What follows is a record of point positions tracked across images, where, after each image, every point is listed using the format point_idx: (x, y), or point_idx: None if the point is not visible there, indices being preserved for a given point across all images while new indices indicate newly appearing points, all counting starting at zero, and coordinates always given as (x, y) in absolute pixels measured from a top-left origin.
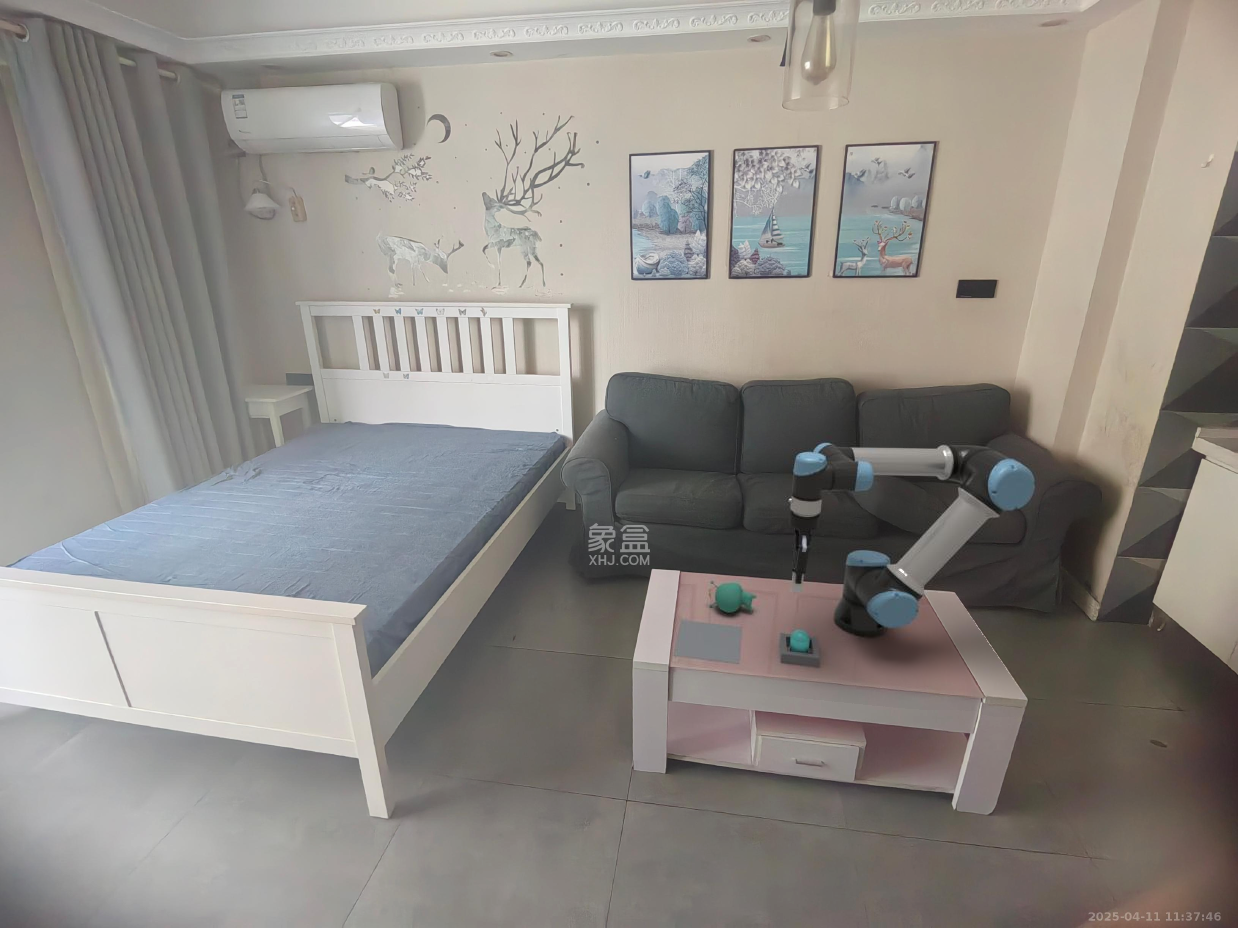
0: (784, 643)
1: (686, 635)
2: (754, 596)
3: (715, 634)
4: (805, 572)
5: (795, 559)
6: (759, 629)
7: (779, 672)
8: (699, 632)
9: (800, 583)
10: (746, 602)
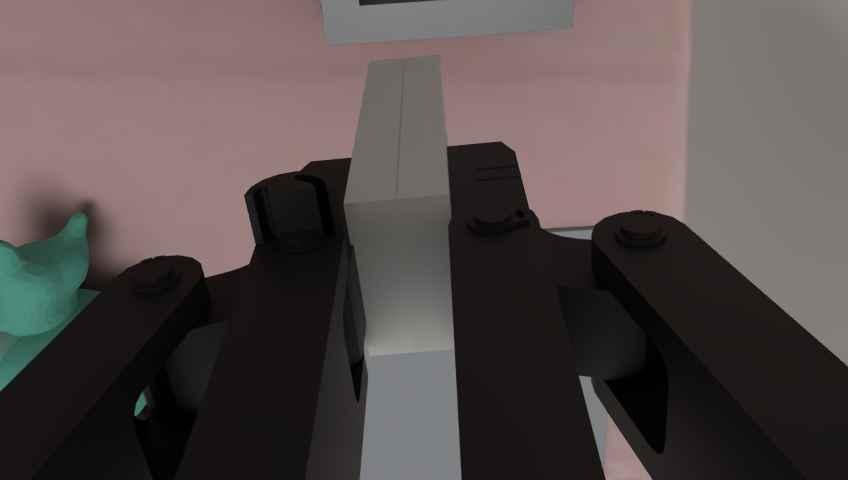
0: (449, 12)
1: (433, 463)
2: (12, 256)
3: (383, 356)
4: (660, 224)
5: (355, 473)
6: (241, 150)
7: (656, 12)
8: (389, 420)
9: (508, 153)
10: (80, 281)
